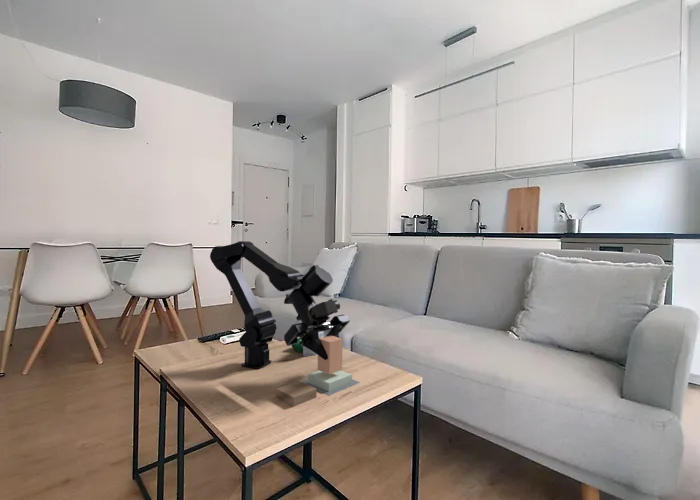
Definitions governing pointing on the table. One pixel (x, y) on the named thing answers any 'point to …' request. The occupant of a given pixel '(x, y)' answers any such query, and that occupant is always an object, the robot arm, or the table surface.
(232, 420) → the table surface
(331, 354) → the terracotta brick
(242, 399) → the table surface
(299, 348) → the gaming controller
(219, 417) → the table surface
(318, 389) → the baseplate
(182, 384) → the table surface
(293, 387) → the walnut stand
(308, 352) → the medicine box
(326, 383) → the foundation slab
